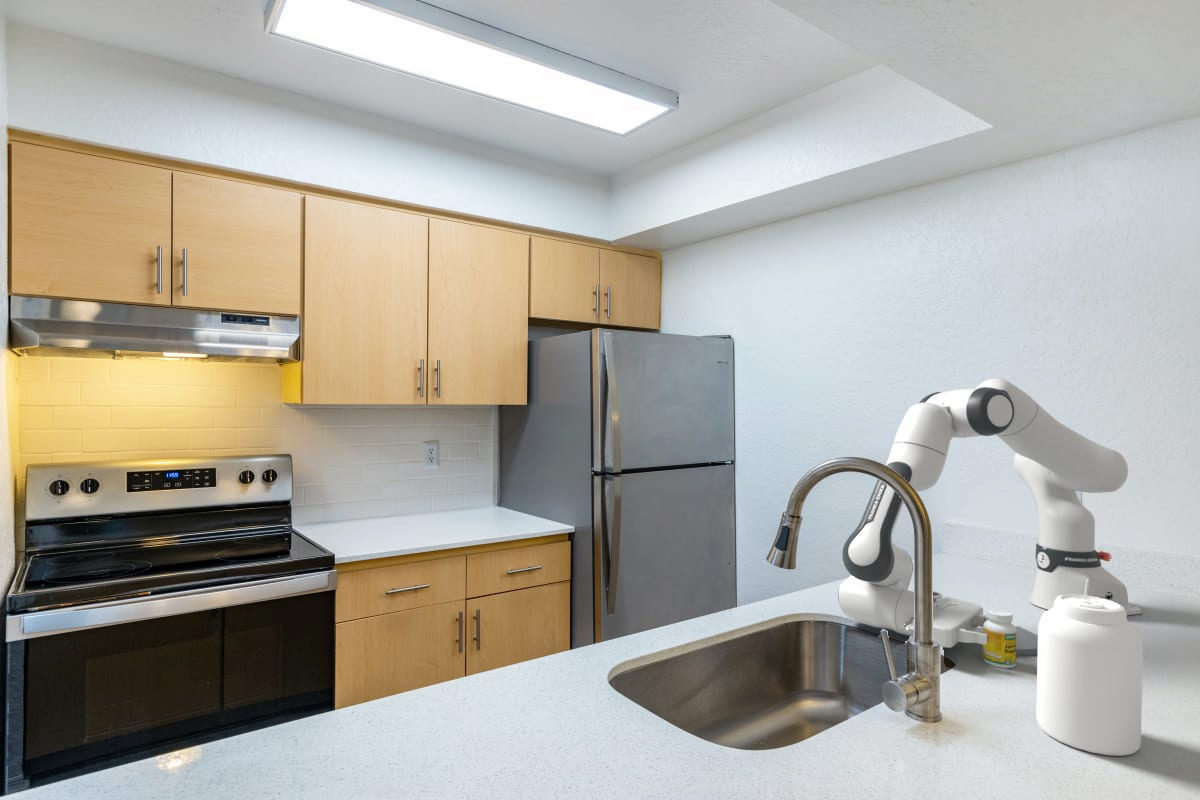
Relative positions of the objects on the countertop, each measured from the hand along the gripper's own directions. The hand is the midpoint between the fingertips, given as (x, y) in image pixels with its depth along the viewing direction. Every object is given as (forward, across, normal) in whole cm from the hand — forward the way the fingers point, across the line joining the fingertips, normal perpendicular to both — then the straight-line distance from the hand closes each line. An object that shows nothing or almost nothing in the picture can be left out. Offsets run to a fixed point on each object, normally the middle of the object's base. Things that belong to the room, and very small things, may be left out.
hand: (995, 633), depth 126 cm
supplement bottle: (+1, 0, +6) cm, 6 cm away
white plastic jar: (+18, -21, +6) cm, 28 cm away
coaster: (0, +13, +5) cm, 14 cm away
